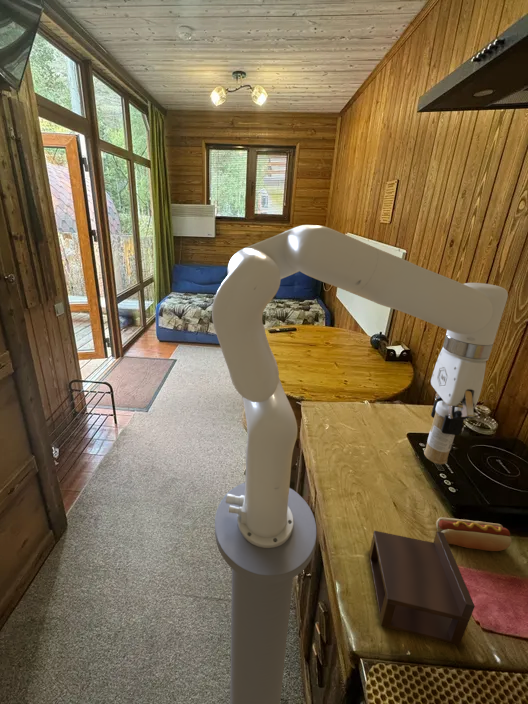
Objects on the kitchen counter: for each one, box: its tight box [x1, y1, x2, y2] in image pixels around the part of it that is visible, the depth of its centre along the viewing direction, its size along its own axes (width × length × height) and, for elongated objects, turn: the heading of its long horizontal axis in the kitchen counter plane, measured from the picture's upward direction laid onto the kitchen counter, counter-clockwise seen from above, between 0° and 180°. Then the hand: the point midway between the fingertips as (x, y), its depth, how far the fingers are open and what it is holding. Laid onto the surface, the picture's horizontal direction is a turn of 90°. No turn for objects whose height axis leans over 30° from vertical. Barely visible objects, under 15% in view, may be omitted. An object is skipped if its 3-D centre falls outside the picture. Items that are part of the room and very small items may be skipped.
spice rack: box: [368, 530, 476, 647], centre depth 55 cm, size 12×12×10 cm
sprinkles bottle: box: [423, 401, 461, 465], centre depth 66 cm, size 5×5×13 cm
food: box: [435, 516, 513, 552], centre depth 66 cm, size 14×6×5 cm, turn 83°
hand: (444, 424), depth 66 cm, fingers closed on sprinkles bottle, 4 cm apart
